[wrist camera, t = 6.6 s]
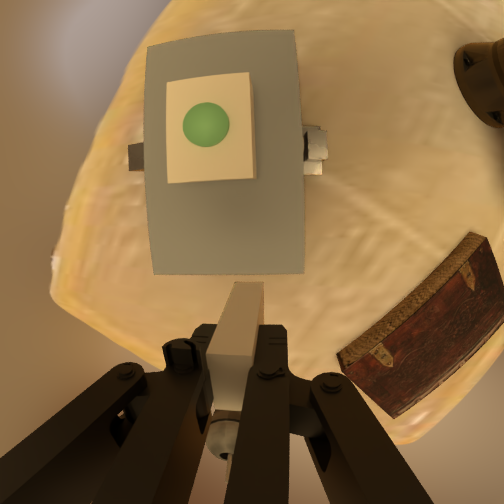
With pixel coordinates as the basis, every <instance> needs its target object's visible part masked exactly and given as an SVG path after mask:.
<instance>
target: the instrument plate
mask: <svg viewBox="0 0 504 504" xmlns="http://www.w3.org/2000/svg"><path fill="white" fill-rule="evenodd" d="M303 152H304V138H303V137H302V118H301V102H300V88H299V75H298V64H297V53H296V43H295V34H294V30H254V31H239V32H228V33H219V34H211V35H204V36H198V37H192V38H186V39H181V40H176V41H171V42H166V43H162V44H157V45H153V46H149V47H147V58H146V71H145V89H144V173H145V192H146V207H147V219H148V230H149V240H150V249H151V258H152V266H153V273H154V275H275V274H304V258H305V202H304V161H303Z"/></svg>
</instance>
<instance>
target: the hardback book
mask: <svg viewBox="0 0 504 504" xmlns="http://www.w3.org/2000/svg"><path fill="white" fill-rule="evenodd" d="M503 323H504V285H503V281H502V278H501V275H500V272H499V269H498V266H497V263H496V260H495V257H494V254H493V252H492V249H491V247H490V244H489V241H488V239H487V237H484V236H481V235H479V234H476V233H473V232H469V233H468V234H467V236H466V237H465V238H464V239H463V240H462V241H461V242H460V244H459V245H458V246H457V247H456V248H455V249H454V250H453V251H452V252H451V253H450V254H449V256H448V257H447V258H446V259H445V260H444V261H443V262H442V263H441V264H440V265H439V266H438V267H437V268H436V269H435V270H434V271H433V272H432V273H431V274H430V275H429V276H428V277H427V278H426V279H425V280H424V281H423V282H422V283H421V284H420V285H419V286H418V287H417V288H416V289H414V290H413V291H412V292H411V293H410V294H409V295H408V296H407V297H406V298H405V299H404V300H402V301H401V302H400V303H399V304H398V305H397V306H396V307H395V308H393V309H392V310H391V311H390V312H389V313H388V314H386V315H385V316H384V317H383V318H382V319H381V320H379V321H378V322H377V323H376V324H375V325H373V326H372V327H371V328H370V329H368V330H367V331H366V332H365V333H363V334H362V335H361V336H360V337H358V338H357V339H356V340H354V341H353V342H352V343H350V344H349V345H348V346H346V347H345V348H344V349H342V350H341V351H340V352H338V353H337V354H336V355H337V358H338V361H339V364H340V368H341V371H342V372H343V373H344V374H345V375H346V376H347V377H348V378H349V379H350V380H351V381H352V382H353V383H355V384H356V385H357V386H358V387H359V388H360V389H361V390H362V391H363V392H364V393H365V394H366V395H368V396H369V397H370V398H371V399H372V400H373V401H374V402H375V403H376V404H377V405H378V406H380V407H381V408H382V409H383V410H384V411H385V412H386V413H387V414H388V415H389V416H391V417H392V418H393V419H395V418H397V417H398V416H400V415H401V414H402V413H404V412H405V411H407V410H408V409H410V408H411V407H412V406H414V405H415V404H417V403H418V402H419V401H421V400H422V399H423V398H424V397H426V396H427V395H428V394H430V393H431V392H432V391H433V390H435V389H436V388H437V387H438V386H440V385H441V384H442V383H443V382H444V381H446V380H447V379H448V378H449V377H450V376H451V375H453V374H454V373H455V372H456V371H457V370H458V369H459V368H460V367H461V366H463V365H464V364H465V363H466V362H467V361H468V360H469V359H470V358H471V357H472V356H473V355H474V354H475V353H476V352H477V351H478V350H479V349H480V348H481V347H482V346H483V345H484V344H485V343H486V342H487V341H488V340H489V339H490V337H491V336H492V335H493V334H494V333H495V332H496V331H497V330H498V329H499V327H500V326H501V325H502V324H503Z"/></svg>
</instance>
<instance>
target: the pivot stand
mask: <svg viewBox="0 0 504 504" xmlns="http://www.w3.org/2000/svg"><path fill="white" fill-rule="evenodd" d="M302 137H303V138H304V152H303V161H304V175H322V161H324V160H327V159H328V145H327V131H322V130H320V126H302ZM128 156H129V171H144V142H143V143H137V144H132V145H128Z"/></svg>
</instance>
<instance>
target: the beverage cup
mask: <svg viewBox="0 0 504 504" xmlns="http://www.w3.org/2000/svg"><path fill="white" fill-rule="evenodd" d="M240 416H241V411H232V410H219V409H215V412H214V414H213V416H212V420H211V424H210V427H209V431H208V434H207V438H206V445H207V447H208V449H209V450H210V452H211V453H212V454H213V455H215V456H216V457H217V458H219V459H221V460H224V461H227V470H226V479H225V482H227V483H228V480H229V474H230V469H231V461H232V459H233V454H234V448H235V443H236V438H237V432H238V427H239V421H240Z"/></svg>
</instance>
